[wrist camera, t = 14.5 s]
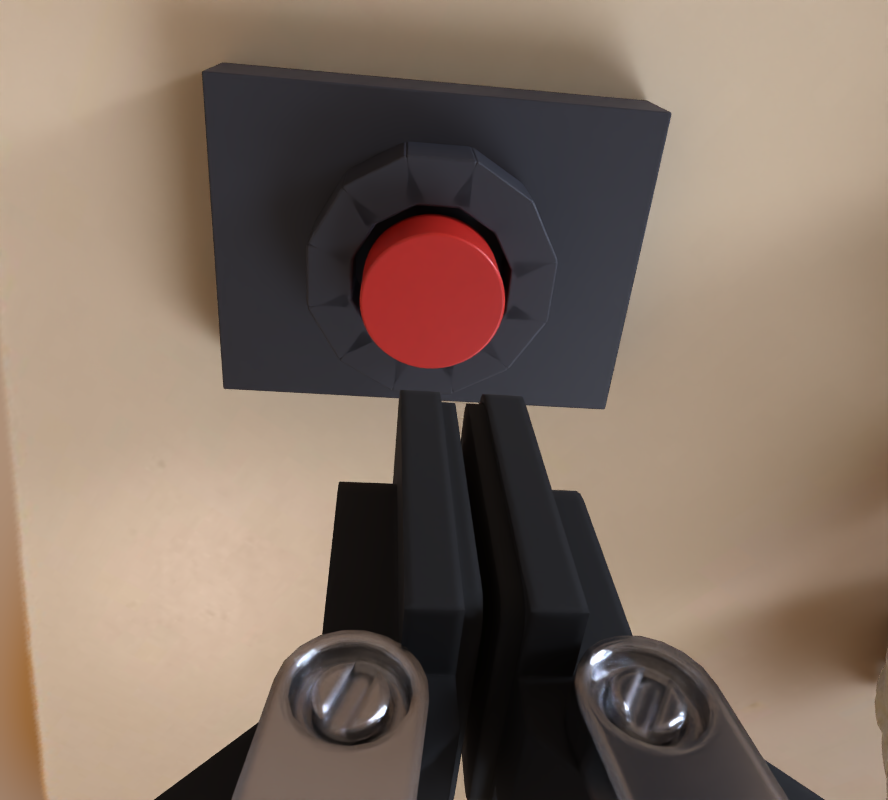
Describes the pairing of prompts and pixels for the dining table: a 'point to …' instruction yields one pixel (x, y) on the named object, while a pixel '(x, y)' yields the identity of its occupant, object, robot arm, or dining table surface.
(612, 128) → the control block
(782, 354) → the dining table surface
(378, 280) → the button
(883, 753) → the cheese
